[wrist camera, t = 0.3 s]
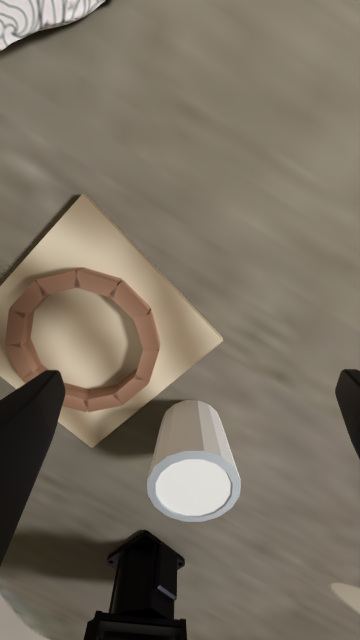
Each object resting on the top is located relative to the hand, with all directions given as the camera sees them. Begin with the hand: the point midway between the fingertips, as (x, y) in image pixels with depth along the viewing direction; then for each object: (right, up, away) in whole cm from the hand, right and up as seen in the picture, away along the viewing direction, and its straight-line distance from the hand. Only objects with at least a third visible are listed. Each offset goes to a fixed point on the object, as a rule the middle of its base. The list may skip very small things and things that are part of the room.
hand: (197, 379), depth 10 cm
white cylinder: (0, -8, +19) cm, 20 cm away
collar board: (-8, +1, +15) cm, 17 cm away
